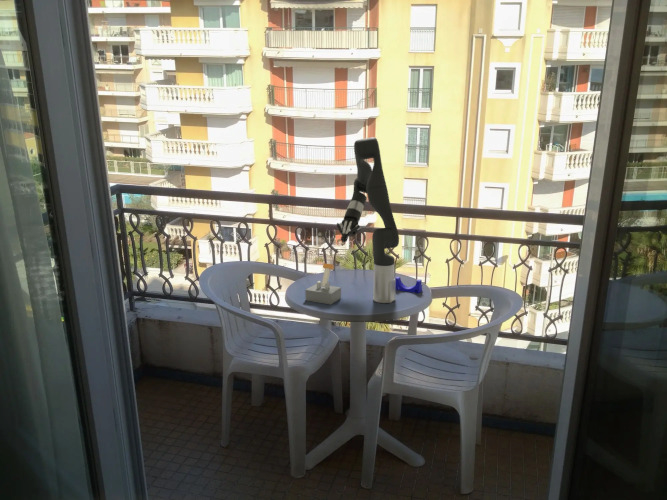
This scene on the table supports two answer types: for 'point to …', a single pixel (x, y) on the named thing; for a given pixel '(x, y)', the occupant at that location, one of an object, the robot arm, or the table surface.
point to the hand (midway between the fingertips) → (343, 241)
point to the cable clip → (402, 287)
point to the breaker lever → (326, 273)
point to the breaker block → (323, 293)
